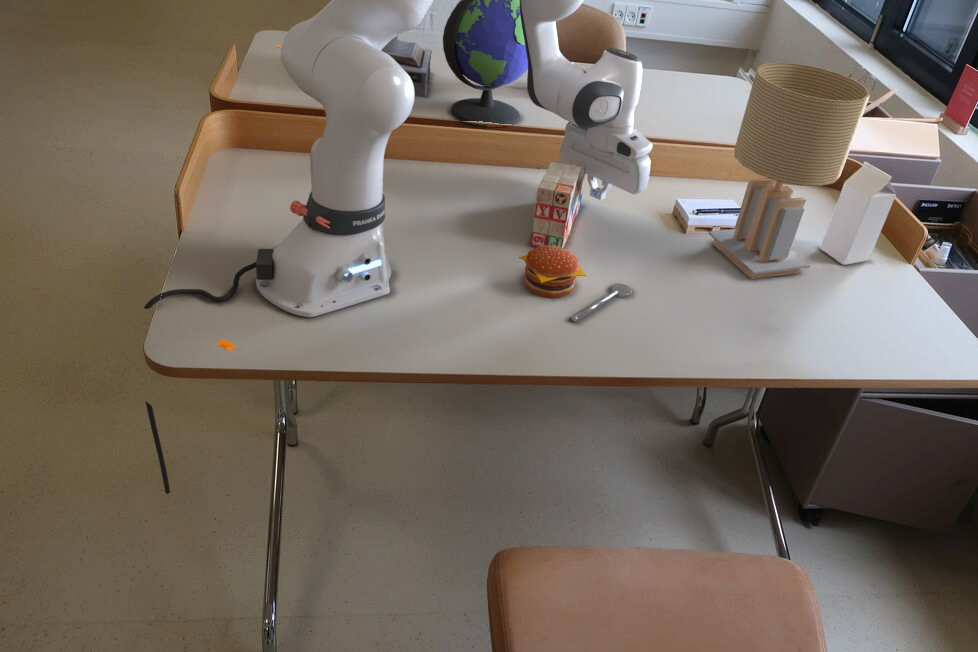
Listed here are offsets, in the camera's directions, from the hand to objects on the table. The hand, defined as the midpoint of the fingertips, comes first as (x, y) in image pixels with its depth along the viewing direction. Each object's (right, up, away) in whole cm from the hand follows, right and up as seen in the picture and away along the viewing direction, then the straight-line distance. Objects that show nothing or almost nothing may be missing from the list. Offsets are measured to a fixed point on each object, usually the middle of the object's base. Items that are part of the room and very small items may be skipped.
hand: (597, 197), depth 172 cm
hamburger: (-10, -21, -27) cm, 35 cm away
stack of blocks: (-9, -7, -8) cm, 14 cm away
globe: (-26, +28, +35) cm, 52 cm away
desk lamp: (+31, -14, -9) cm, 35 cm away
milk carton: (+51, -13, -3) cm, 52 cm away
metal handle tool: (-2, -24, -30) cm, 39 cm away
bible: (-53, +40, +46) cm, 81 cm away
